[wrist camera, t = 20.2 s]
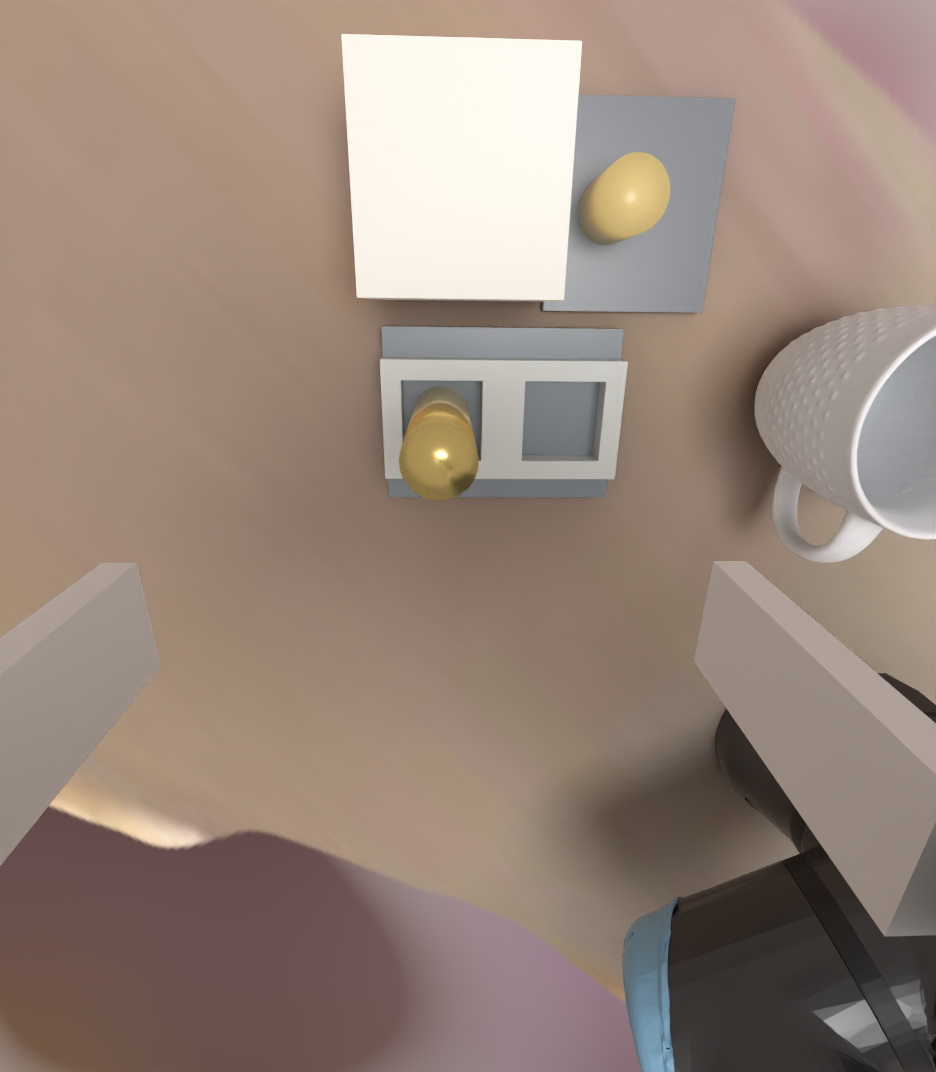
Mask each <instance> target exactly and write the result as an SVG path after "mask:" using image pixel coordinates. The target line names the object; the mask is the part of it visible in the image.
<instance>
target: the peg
mask: <svg viewBox="0 0 936 1072" xmlns="http://www.w3.org/2000/svg"><path fill="white" fill-rule="evenodd" d="M478 464H479V460H478V453H477V448H476V443H475V438H474V433H473V429H472V424H471V419H470V414H469V409H468V406H467V403H466V401H465V399H464V398H463V396H462V395H461V394H460V393H459V392H457V391H456V390H454V389H452V388H449V387H445V386H437V387H433V388H430V389H428V390H426V391H425V392H423V393H422V394H421V395H420V397H419V398H418V399H417V401H416V403H415V407H414V410H413V413H412V416H411V419H410V422H409V425H408V429H407V432H406V435H405V438H404V441H403V444H402V447H401V451H400V455H399V468H400V472H401V475H402V477H403V479H404V481H405V483H406V484H407V485H408V486H409V488H410V489H411V490H413V491H414V492H415V493H417V494H418V495H420V496H422V497H424V498H427V499H431V500H447V499H451V498H454V497H456V496H459V495H460V494H462V493H463V492H464V491H466V490H467V489H468V488H469V487H470V485H471V484H472V483H473V481H474V479H475V477H476V474H477V471H478Z"/></svg>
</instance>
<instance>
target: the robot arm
mask: <svg viewBox="0 0 936 1072" xmlns="http://www.w3.org/2000/svg"><path fill="white" fill-rule="evenodd" d="M694 662H695V664H696V665H697V667H698V668H699V669H700V671H701V672H702V674H703V675H704V677H705V678H706V679H707V681H708V682H709V684H710V685H711V687H712V688H713V690H714V691H715V692H716V694H717V695H718V697H719V698H720V700H721V701H722V703H723V704H724V705H725V707H726V708H727V712H726V714H725V715H724V717H723V719H722V721H721V724H720V726H719V729H718V733H717V738H716V754H717V758H718V761H719V764H720V766H721V768H722V770H723V772H724V773H725V775H726V777H727V778H728V780H729V782H730V783H731V785H732V787H733V788H734V789H735V791H736V792H737V793H738V794H739V795H740V797H741V798H742V799H744V800H745V801H746V802H747V803H749V804H750V805H751V806H752V807H754V808H755V809H757V810H759V811H760V812H761V813H762V814H763V815H764V816H765V817H766V818H768V819H769V820H770V821H771V822H772V823H773V824H774V825H775V826H776V827H777V828H778V829H779V830H780V831H782V832H783V833H784V834H785V835H786V836H787V837H788V838H789V839H790V840H791V841H792V842H793V844H794V845H795V847H796V848H797V850H798V851H799V853H800V854H798V855H796V856H793V857H790V858H788V859H785V860H783V861H779V862H776V863H774V864H771V865H769V866H766V867H764V868H761V869H758V870H756V871H753V872H751V873H748V874H746V875H743V876H741V877H738V878H735V879H733V880H730V881H728V882H725V883H723V884H720V885H717V886H715V887H712V888H710V889H707V890H704V891H701V892H699V893H696V894H693V895H690V896H687V897H685V898H684V897H677V898H674V899H673V900H672V901H671V902H670V904H668V905H666V906H664V907H662V908H660V909H658V910H656V911H654V912H652V913H649V914H647V915H645V916H643V917H641V918H639V919H637V920H636V921H635V922H634V923H633V924H632V925H631V926H630V928H629V930H628V932H627V934H626V938H625V940H624V949H623V958H622V966H623V981H624V990H625V998H626V1004H627V1010H628V1015H629V1021H630V1026H631V1031H632V1035H633V1039H634V1044H635V1048H636V1052H637V1056H638V1060H639V1064H640V1067H641V1071H642V1072H936V705H935V704H934V703H932V702H931V701H930V700H929V699H927V698H926V697H925V696H924V695H923V694H921V693H920V692H919V691H917V690H915V689H914V688H912V687H910V686H908V685H906V684H904V683H902V682H901V681H899V680H897V679H895V678H893V677H891V676H889V675H888V674H886V673H876V672H875V671H874V670H873V669H871V668H870V667H869V666H868V665H867V664H866V663H864V662H863V661H862V660H861V659H860V658H859V657H857V656H856V655H855V654H854V653H853V652H852V651H850V650H849V649H848V648H847V647H846V646H844V645H843V644H842V643H841V642H840V641H839V640H837V639H836V638H835V637H834V636H833V635H832V634H830V633H829V632H828V631H827V630H826V629H825V628H823V627H822V626H821V625H820V624H819V623H818V622H816V621H815V620H814V619H813V618H812V617H811V616H809V615H808V614H807V613H806V612H805V611H804V610H802V609H801V608H800V607H799V606H798V605H797V604H795V603H794V602H793V601H792V600H791V599H789V598H788V597H787V596H786V595H785V594H784V593H782V592H781V591H780V590H779V589H778V588H777V587H775V586H774V585H773V584H772V583H771V582H770V581H768V580H767V579H766V578H765V577H764V576H763V575H761V574H760V573H759V572H758V571H757V570H756V569H754V568H753V567H752V566H751V565H750V564H749V563H747V562H746V561H713V565H712V570H711V575H710V580H709V586H708V591H707V596H706V601H705V606H704V611H703V616H702V621H701V627H700V632H699V637H698V642H697V647H696V652H695V657H694ZM160 666H161V665H160V661H159V656H158V652H157V648H156V644H155V639H154V635H153V631H152V626H151V622H150V618H149V614H148V609H147V605H146V601H145V597H144V592H143V588H142V584H141V579H140V575H139V571H138V567H137V563H101V564H100V565H98V566H97V567H96V568H94V569H93V570H92V571H90V572H89V573H88V574H86V575H85V576H83V577H82V578H81V579H79V580H78V581H77V582H75V583H74V584H73V585H71V586H70V587H69V588H67V589H66V590H64V591H63V592H62V593H60V594H59V595H58V596H56V597H55V598H54V599H52V600H51V601H50V602H48V603H47V604H45V605H44V606H43V607H41V608H40V609H39V610H37V611H36V612H35V613H33V614H32V615H31V616H29V617H28V618H26V619H25V620H24V621H22V622H21V623H20V624H18V625H17V626H16V627H14V628H13V629H12V630H10V631H9V632H7V633H6V634H5V635H3V636H2V637H1V638H0V865H1V864H2V863H3V862H4V860H5V859H6V858H7V857H8V855H9V854H10V853H11V852H12V850H13V849H14V848H15V847H16V846H17V844H18V843H19V842H20V841H21V839H22V838H23V837H24V836H25V834H26V833H27V832H28V830H29V829H30V828H31V827H32V826H33V824H34V823H35V822H36V821H37V819H38V818H39V817H40V815H41V814H42V813H43V812H44V811H45V809H46V808H47V807H48V806H49V805H50V803H51V802H52V801H53V800H54V798H55V797H56V796H57V795H58V793H59V792H60V791H61V790H62V788H63V787H64V786H65V785H66V783H67V782H68V781H69V780H70V778H71V777H72V776H73V775H74V773H75V772H76V771H77V770H78V768H79V767H80V766H81V765H82V763H83V762H84V761H85V760H86V758H87V757H88V756H89V755H90V753H91V752H92V751H93V750H94V749H95V747H96V746H97V745H98V744H99V742H100V741H101V740H102V739H103V737H104V736H105V735H106V734H107V732H108V731H109V730H110V729H111V727H112V726H113V725H114V724H115V722H116V721H117V720H118V719H119V717H120V716H121V715H122V714H123V712H124V711H125V710H126V709H127V707H128V706H129V705H130V704H131V702H132V701H133V700H134V699H135V697H136V696H137V695H138V694H139V692H140V691H141V690H142V689H143V688H144V686H145V685H146V684H147V683H148V681H149V680H150V679H151V678H152V676H153V675H154V674H155V673H156V671H157V670H158V669H159V668H160Z"/></svg>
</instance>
